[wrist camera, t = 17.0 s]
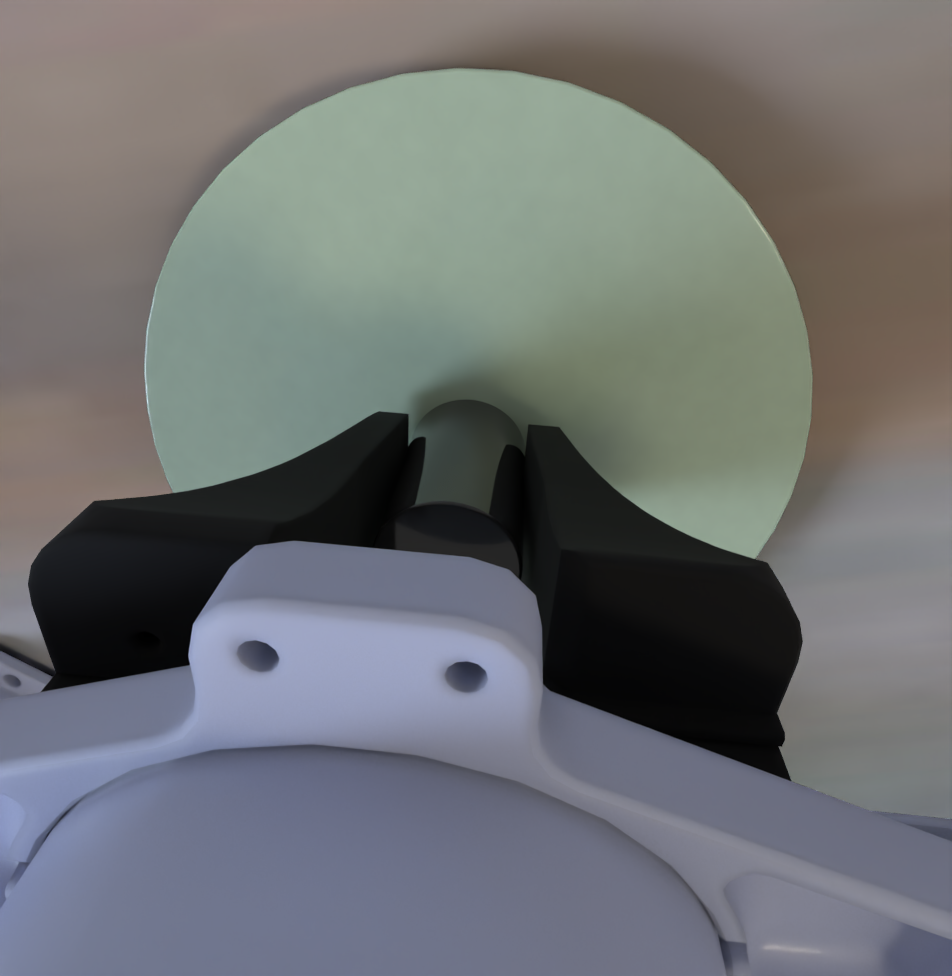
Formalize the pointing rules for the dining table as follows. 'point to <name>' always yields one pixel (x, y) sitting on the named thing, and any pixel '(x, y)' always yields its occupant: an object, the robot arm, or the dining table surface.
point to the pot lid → (485, 311)
